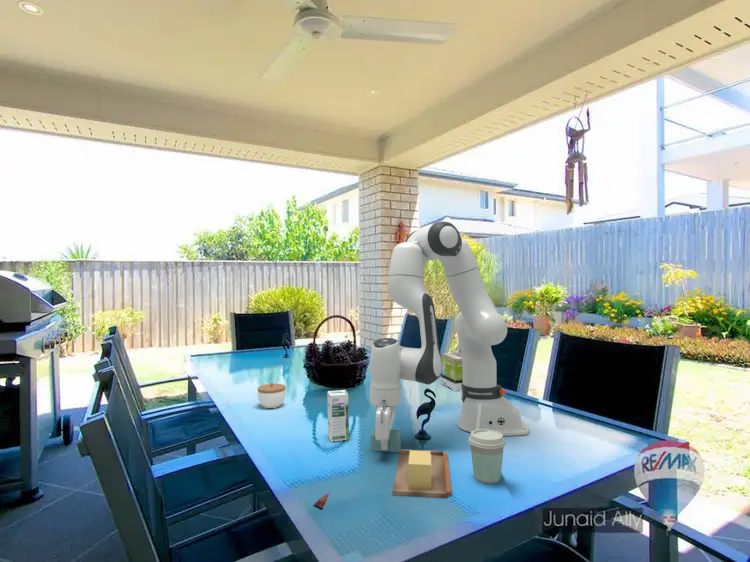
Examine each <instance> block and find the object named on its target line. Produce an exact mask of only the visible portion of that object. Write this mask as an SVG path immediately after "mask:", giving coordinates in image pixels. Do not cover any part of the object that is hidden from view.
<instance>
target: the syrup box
mask: <svg viewBox="0 0 750 562" xmlns="http://www.w3.org/2000/svg"><path fill="white" fill-rule="evenodd" d="M326 395H327V397H326V398H327V436H328V438H329V440H330V443H334V442H333V441H335V442H342V441H343V440H345V441H349V440H350V429H349V427H350V426H349V425H350V423H349V421H350V420H349V418H350V417H349V412H350V411H349V409H350V408H349V393H348V391H347V390H345V389H343V390H328V391H327V393H326Z"/></svg>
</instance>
